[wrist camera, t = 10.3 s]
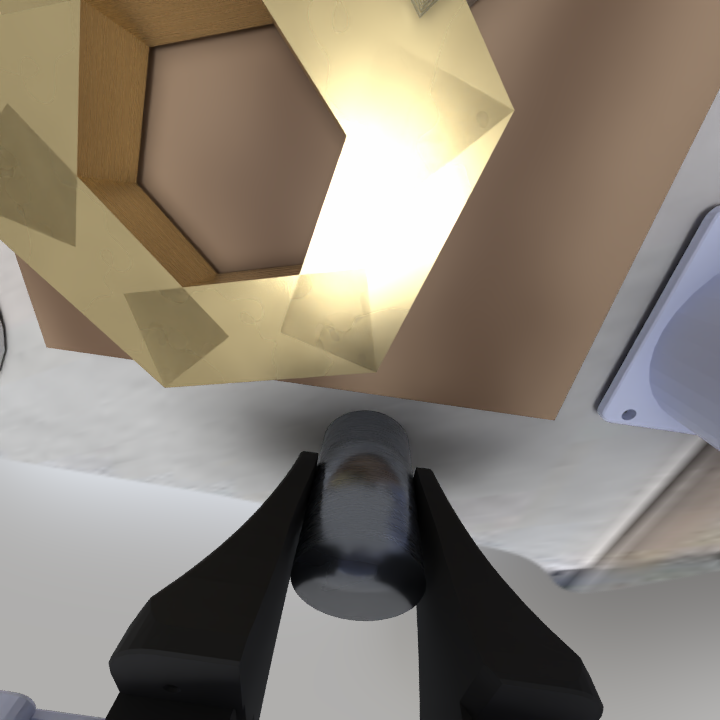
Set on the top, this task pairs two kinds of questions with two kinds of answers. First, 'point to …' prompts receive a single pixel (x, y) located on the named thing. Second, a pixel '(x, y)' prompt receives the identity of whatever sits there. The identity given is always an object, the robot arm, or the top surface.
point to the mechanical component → (1, 343)
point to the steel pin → (361, 524)
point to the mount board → (483, 207)
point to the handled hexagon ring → (167, 244)
